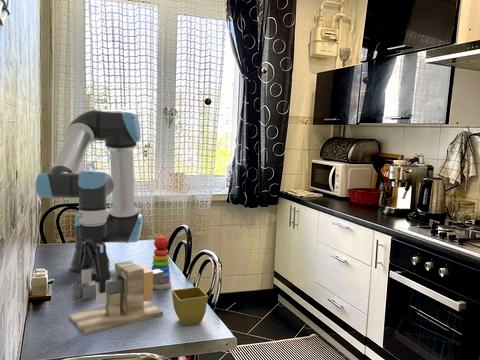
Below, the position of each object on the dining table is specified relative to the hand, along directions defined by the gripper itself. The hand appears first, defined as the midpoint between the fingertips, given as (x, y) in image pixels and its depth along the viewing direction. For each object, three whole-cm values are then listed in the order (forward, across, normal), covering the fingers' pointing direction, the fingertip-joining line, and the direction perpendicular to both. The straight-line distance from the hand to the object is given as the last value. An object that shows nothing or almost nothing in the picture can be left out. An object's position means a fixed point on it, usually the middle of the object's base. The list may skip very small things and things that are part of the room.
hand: (93, 296), depth 131 cm
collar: (-1, 0, +15) cm, 15 cm away
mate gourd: (+8, -26, +11) cm, 29 cm away
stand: (+8, 0, +7) cm, 10 cm away
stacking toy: (+8, -16, +30) cm, 35 cm away
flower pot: (+8, +16, +23) cm, 29 cm away
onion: (+8, -19, +4) cm, 21 cm away
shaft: (0, 0, +8) cm, 8 cm away
